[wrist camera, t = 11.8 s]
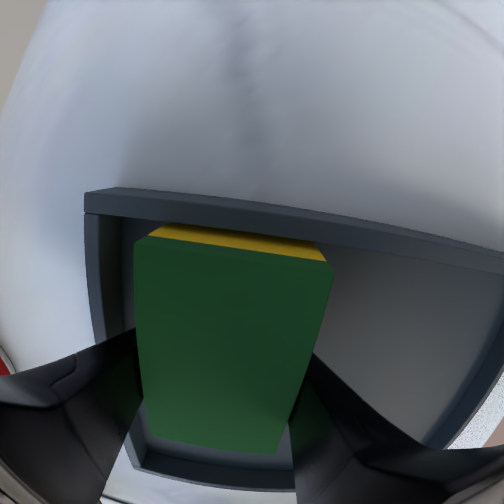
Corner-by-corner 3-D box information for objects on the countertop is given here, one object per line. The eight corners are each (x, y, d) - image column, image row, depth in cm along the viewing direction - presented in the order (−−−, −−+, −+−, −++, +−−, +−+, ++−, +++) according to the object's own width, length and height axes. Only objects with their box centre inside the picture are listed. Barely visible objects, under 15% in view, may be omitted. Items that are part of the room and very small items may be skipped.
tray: (417, 452, 13) (425, 471, 11) (142, 446, 13) (133, 469, 11) (522, 258, 9) (546, 270, 7) (115, 186, 9) (83, 192, 7)
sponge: (272, 399, 11) (274, 455, 8) (170, 383, 10) (149, 435, 8) (311, 238, 9) (336, 272, 6) (173, 218, 9) (132, 242, 6)
